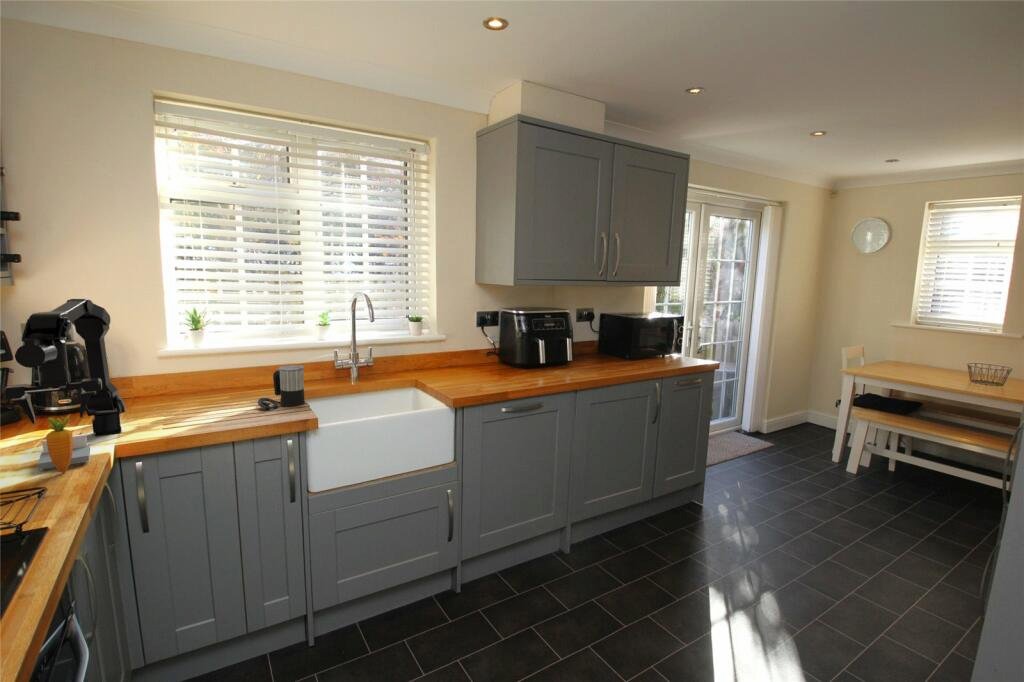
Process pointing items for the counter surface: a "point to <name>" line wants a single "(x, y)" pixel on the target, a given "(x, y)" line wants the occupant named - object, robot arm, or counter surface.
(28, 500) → the counter surface
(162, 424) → the counter surface
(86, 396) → the robot arm
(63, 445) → the carrot
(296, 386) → the milk frother
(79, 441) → the grey and white block
